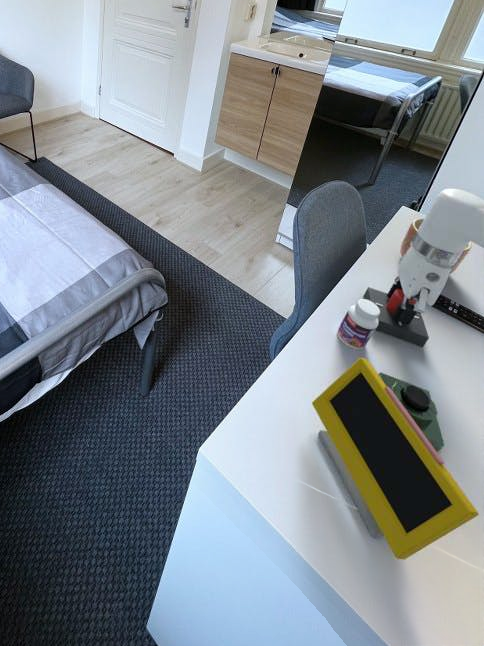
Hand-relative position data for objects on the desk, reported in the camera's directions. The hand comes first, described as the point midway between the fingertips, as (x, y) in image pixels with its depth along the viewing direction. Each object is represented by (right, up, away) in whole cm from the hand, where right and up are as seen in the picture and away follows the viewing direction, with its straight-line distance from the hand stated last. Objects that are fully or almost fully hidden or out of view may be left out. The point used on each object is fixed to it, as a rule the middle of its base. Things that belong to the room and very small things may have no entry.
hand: (397, 309), depth 92 cm
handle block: (0, -3, +2) cm, 4 cm away
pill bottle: (-13, -5, -4) cm, 14 cm away
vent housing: (-11, -12, -17) cm, 23 cm away
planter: (+20, +4, +19) cm, 28 cm away
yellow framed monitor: (-25, -16, -27) cm, 40 cm away
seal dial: (0, 0, 0) cm, 0 cm away
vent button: (-11, -9, -18) cm, 23 cm away
